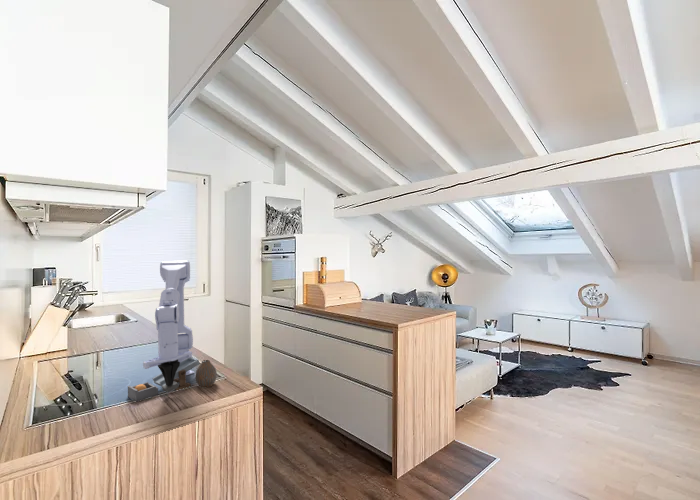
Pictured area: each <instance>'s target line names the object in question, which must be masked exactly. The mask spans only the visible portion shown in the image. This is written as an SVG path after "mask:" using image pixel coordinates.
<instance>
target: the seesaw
mask: <svg viewBox="0 0 700 500" xmlns="http://www.w3.org/2000/svg"><path fill="white" fill-rule="evenodd" d="M200 365H201V362H200V361H199V359H198V358H197V357H193V356H192V357H191V358H187V359H186V360H184V361H182V362H180V366H179V367H178V369H177V371H176V374H175V377H174V379H176V378H177V377H179V371H180V370H184V369H185V370H186V372H187V371H189V370H191V371H192V369H194V368H196V367H197V366H200ZM152 381H153V384H155V385H157V386H160V387H161V389H162V391H163V392H165V393H167V394H169V393H171V392H173V391H175V390H174V389H176V388H178V387H179V382H178V383H177V382H175V381H173V385H171V386H167V385H166V383H165V379H164V376H163V374H162V372H161V373H159V374H158V375H156V376H154V377H152Z"/></svg>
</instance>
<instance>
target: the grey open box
mask: <svg viewBox="0 0 700 500" xmlns="http://www.w3.org/2000/svg"><path fill="white" fill-rule="evenodd" d="M142 384H143V385H145V386H146V389H144V390H140V391H138V390H137V389H135V387H136V386H137V385H138V384H137V385H133V386H132V385H128V386H127V397H128V398H129V399H131V400H132V401H134V402H135V401H136V402H140V400H141V401H143V400H146V399H150V398H153V397H156V396H158V395H159V387H158V386H156V385H154V384H153V383H149V382H148V381H147V382H143V383H142ZM136 402H135V403H136Z"/></svg>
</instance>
